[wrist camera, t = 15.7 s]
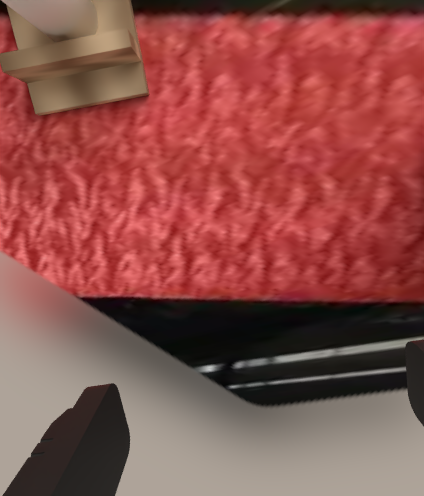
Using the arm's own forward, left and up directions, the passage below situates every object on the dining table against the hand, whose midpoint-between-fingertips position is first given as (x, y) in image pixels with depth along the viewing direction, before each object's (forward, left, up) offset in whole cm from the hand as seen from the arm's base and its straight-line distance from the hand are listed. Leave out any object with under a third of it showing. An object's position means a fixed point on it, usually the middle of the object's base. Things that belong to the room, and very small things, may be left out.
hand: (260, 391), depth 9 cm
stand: (+12, -23, -30) cm, 40 cm away
